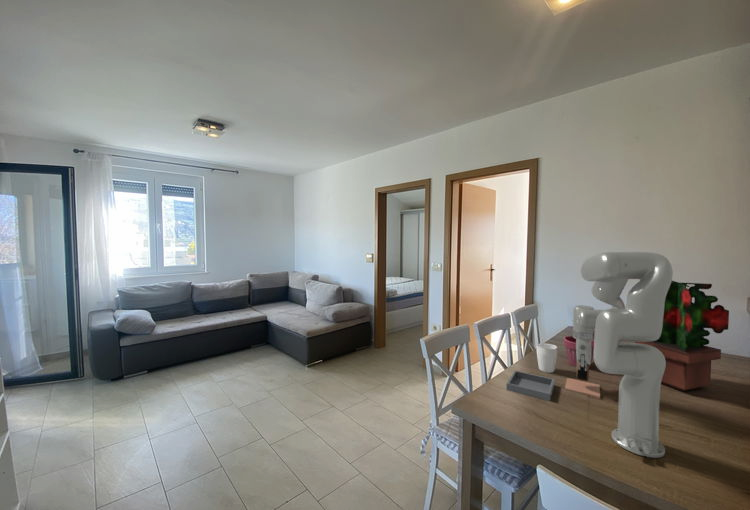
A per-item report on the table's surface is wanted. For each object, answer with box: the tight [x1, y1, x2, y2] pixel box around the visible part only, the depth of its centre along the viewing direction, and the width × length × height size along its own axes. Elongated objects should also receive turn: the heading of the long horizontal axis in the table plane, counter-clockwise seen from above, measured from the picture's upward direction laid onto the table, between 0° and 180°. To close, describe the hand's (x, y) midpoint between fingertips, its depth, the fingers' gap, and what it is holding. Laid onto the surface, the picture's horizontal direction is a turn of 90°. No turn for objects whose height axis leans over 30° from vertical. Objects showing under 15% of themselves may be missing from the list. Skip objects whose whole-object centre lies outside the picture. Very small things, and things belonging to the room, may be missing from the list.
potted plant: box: [634, 280, 730, 392], centre depth 133 cm, size 22×22×45 cm
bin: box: [506, 370, 555, 402], centre depth 130 cm, size 16×16×4 cm
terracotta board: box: [564, 377, 601, 400], centre depth 130 cm, size 12×12×1 cm
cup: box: [536, 342, 558, 373], centre depth 149 cm, size 9×9×12 cm
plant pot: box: [563, 335, 594, 368], centre depth 155 cm, size 14×14×13 cm
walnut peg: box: [575, 361, 590, 382], centre depth 130 cm, size 4×4×8 cm
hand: (582, 376), depth 130 cm, fingers closed on walnut peg, 4 cm apart
